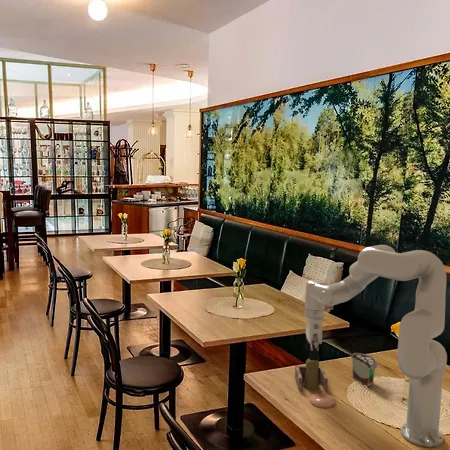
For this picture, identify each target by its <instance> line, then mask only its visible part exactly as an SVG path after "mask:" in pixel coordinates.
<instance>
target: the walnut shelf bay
mask: <svg viewBox="0 0 450 450" xmlns="http://www.w3.org/2000/svg"><path fill="white" fill-rule="evenodd" d="M306 370H307V367H306V365H295V367H294V379H295V382H296V386H297V390H298V391H302V390H303V387H302V386H303V380H305V375H306ZM318 380H319V383H320V384H321V387H322V389H323V391H324V392H328V384H329V379H328V376H327V373H326V371H325V369H324V367H323V366H320V365H319V367H318Z"/></svg>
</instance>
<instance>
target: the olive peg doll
mask: <svg viewBox="0 0 450 450" xmlns="http://www.w3.org/2000/svg"><path fill="white" fill-rule="evenodd" d="M305 366H306V367H307V370H306V375H305V379H304V380H303V387H304V389H306V390H308V391H309V390H310V391H317V390H319V389H320V380H319V379H318V367H319V366H320V361H319V359H318V360H310V359H309V358H307V359H306V361H305Z"/></svg>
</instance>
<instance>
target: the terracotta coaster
mask: <svg viewBox="0 0 450 450" xmlns="http://www.w3.org/2000/svg"><path fill="white" fill-rule="evenodd" d="M309 403H310V404H311V405H312V406H315V407H316V408H317V407H318V408H320V409H321V408H323V409H327V408H332V407H334V406H335V403H336V399H335V397H334V396H332V395H330V394H326V393H322V392H321V393H318V392H317V393H313V394H310V396H309Z"/></svg>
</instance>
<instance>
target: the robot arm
mask: <svg viewBox="0 0 450 450" xmlns="http://www.w3.org/2000/svg"><path fill="white" fill-rule="evenodd" d="M348 270H349V271H348V273H349V275H348V276H347V277H345V278H344V279H343V280H341V281H339V282H335V283H332V284H326V282H325V281H324V280H320V279H309V280H307V281H306V284H305V297H304V300H305V301H304V313H303V314H304V317H306V322H305V325H306V326H305V335H306V340H305V351H309V358H308V359H310V360H318V361H319V354H320V352H319V351H320V350H319V349H320V348H319V347H320V346H319V345H321V344H323V343H322V342H323V319H324V318H325V310H326V307H331V306H335V305H339V304H341V303H345V302H348V301H350V300H351V299H353V298H355V296H358V295H359V294H360V293H361V292H362V291H364V289H365V288H366V287H367V285H369V284H370V283H372V282H373V281H374V280H376V279H377V278H379V277H381V278H386V279H390V280H395V281H401V282H406V281H411V280H414V279H418V284H417V287H416V291H415V305H414V310H413V311H410V312H408V313H406V314H405V315H404V316H403V317H402V318H401V321H400V322H399V326H398V338H397V339H398V340H397V341H398V343H397V363H398V367H399V369H400V370H401V372H402V373H403V374H404V376H406V377H407V378H409V383H408V385H409V386H408V387H409V388H408V395H407V396H408V397H407V412H406V423H404V424H403V425H401V427H400V434H401V436H402V437H403V438H404V439H406V440H407V441H408V442H410V443H412V444H415V445H417V446H421V447H426V448H427V447H428V448H434V447H438V446H440V445H442V444H443V442H444V435H443V434H442V432H441V431H440V430H439V429H440V416H441V404H442V394H443V383H444V376H445V372H446V367H447V362H448V354H447V352H446V348H445V347H444V346H443V345H442V344H441V343H440V342H439V341H436V340H434V338H438V336H440V335H442V333H443V332H444V330H445V324H446V322H445V321H446V319H445V318H446V292H447V270H446V268H445V265H444V263H443V262H442V260H441V259H440V258H439V257H438V256H437V255H435V254H434V253H433V252H431V251H427V250H422V249H418V250H417V249H416V250H415V249H414V250H411V251H406V252H401V253H400V252H396V251H395V249H394V248H393V247H391V246H389V245H386V244H378V245H373V246H367V247H365V248H363V249H362V250H361V251H360V252H359V254H358V257H357V261H355V262H354V263H352V264H351V265H350V266H349V269H348Z"/></svg>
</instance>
